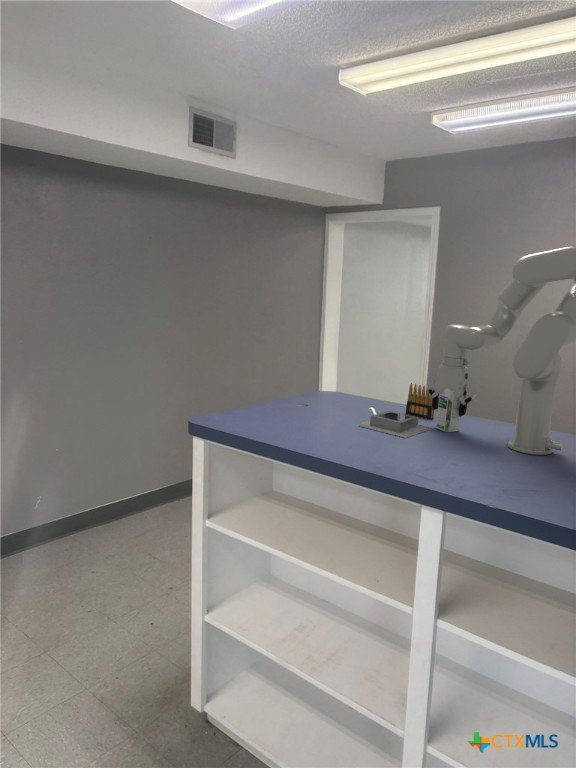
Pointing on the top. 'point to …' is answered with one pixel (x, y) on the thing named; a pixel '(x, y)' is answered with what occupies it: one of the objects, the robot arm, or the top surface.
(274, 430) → the top surface
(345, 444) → the top surface
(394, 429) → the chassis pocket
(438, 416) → the syrup box
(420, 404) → the ammunition clip
